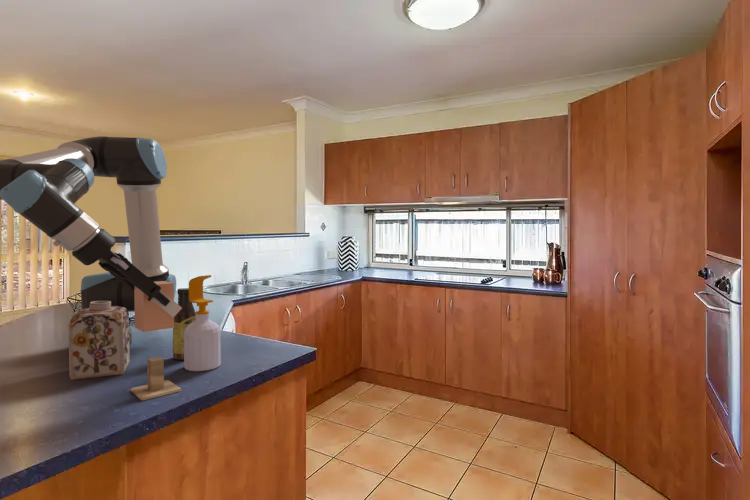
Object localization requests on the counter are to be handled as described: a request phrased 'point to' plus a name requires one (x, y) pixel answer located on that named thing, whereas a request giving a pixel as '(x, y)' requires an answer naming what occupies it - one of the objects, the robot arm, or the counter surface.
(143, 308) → the peach block
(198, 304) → the soap bottle
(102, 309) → the decorative jar
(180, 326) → the sauce bottle
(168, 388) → the post
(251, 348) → the counter surface
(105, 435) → the counter surface
